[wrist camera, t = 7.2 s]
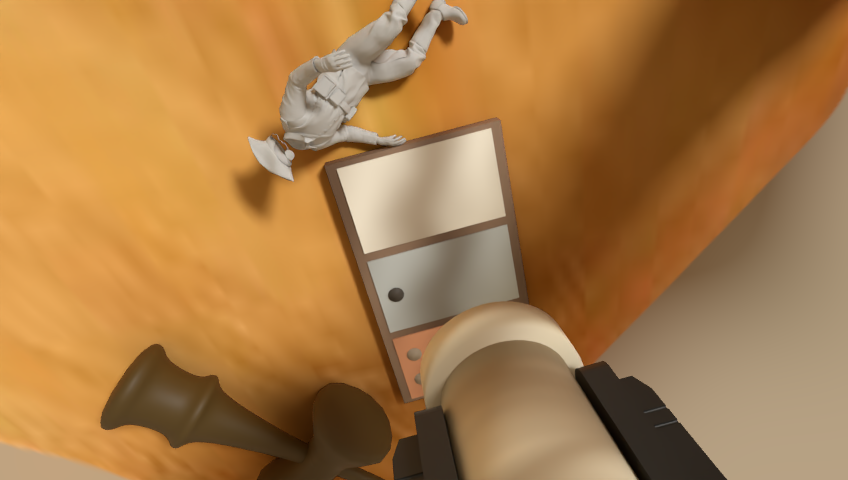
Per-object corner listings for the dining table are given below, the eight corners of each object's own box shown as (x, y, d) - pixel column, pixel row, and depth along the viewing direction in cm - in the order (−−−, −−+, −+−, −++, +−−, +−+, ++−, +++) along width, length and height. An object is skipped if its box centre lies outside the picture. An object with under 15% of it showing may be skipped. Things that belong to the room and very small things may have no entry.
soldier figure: (481, 58, 26) (352, 231, 25) (415, 28, 27) (294, 188, 27) (451, -65, 18) (268, 173, 18) (364, -95, 20) (196, 119, 19)
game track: (496, 117, 26) (501, 120, 25) (534, 359, 34) (539, 367, 33) (325, 162, 26) (324, 167, 25) (403, 395, 33) (404, 405, 33)
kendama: (174, 295, 29) (431, 417, 35) (115, 396, 31) (362, 492, 38) (126, 357, 23) (440, 488, 29) (59, 473, 26) (359, 570, 32)
